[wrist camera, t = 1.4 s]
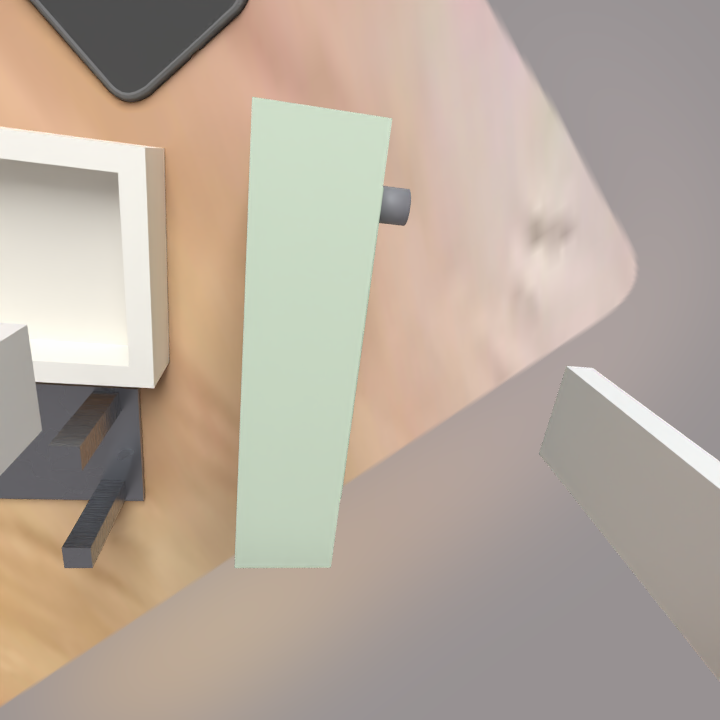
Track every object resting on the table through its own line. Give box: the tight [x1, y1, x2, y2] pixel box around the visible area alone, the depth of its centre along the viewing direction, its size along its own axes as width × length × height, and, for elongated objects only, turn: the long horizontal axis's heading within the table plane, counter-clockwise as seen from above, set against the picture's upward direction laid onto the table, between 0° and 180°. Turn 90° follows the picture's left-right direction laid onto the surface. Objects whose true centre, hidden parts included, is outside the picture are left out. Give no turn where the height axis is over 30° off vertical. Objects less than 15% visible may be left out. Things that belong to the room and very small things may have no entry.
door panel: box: [235, 97, 411, 568], centre depth 18 cm, size 13×4×12 cm, turn 173°
